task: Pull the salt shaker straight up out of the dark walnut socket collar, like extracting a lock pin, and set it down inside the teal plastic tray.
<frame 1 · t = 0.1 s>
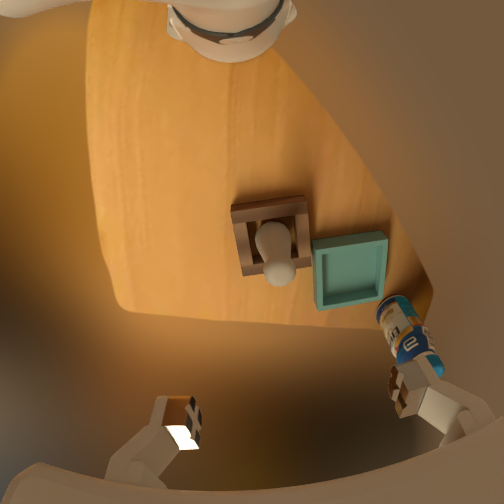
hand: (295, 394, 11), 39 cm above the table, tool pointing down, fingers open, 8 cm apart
beverage bottle: (391, 308, 60), on the table
socket collar: (271, 232, 51), on the table
salt shaker: (271, 231, 51), resting in socket collar
tray: (346, 266, 54), on the table
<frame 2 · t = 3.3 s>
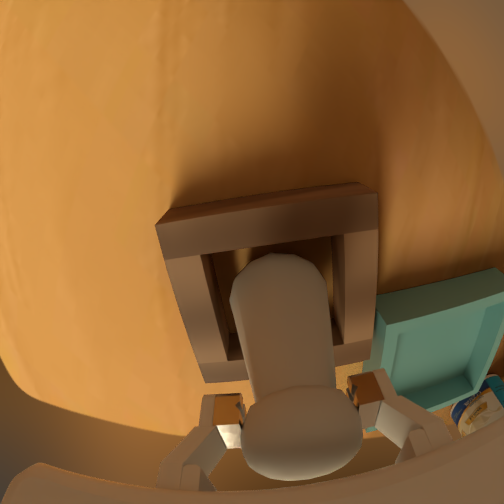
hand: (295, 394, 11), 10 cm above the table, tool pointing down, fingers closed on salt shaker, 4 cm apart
beverage bottle: (473, 393, 28), on the table
socket collar: (276, 280, 20), on the table
salt shaker: (275, 279, 20), resting in socket collar, touching gripper
tray: (428, 343, 23), on the table
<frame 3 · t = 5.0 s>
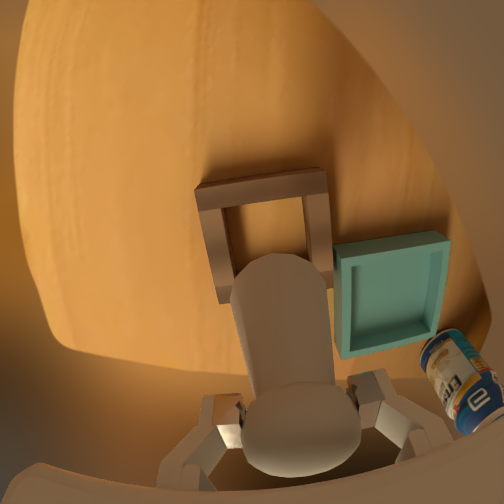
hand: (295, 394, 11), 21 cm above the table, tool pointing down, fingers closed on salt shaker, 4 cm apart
beverage bottle: (440, 347, 38), on the table
socket collar: (267, 231, 30), on the table
salt shaker: (275, 279, 20), point 11 cm above the table, touching gripper
tray: (385, 288, 33), on the table
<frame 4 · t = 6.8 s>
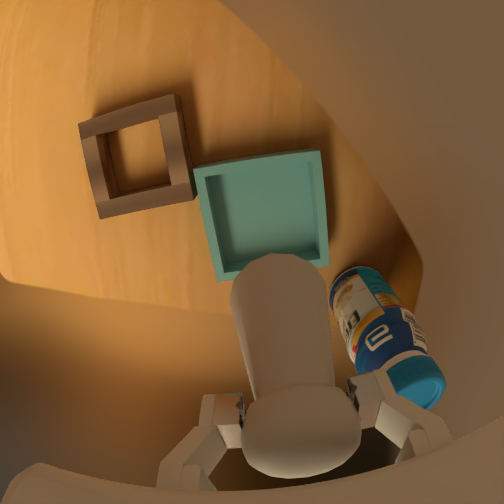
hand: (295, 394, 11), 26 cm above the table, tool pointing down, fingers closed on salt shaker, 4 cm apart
beverage bottle: (355, 290, 40), on the table
socket collar: (140, 156, 32), on the table
salt shaker: (275, 279, 20), point 16 cm above the table, touching gripper
tray: (264, 210, 35), on the table
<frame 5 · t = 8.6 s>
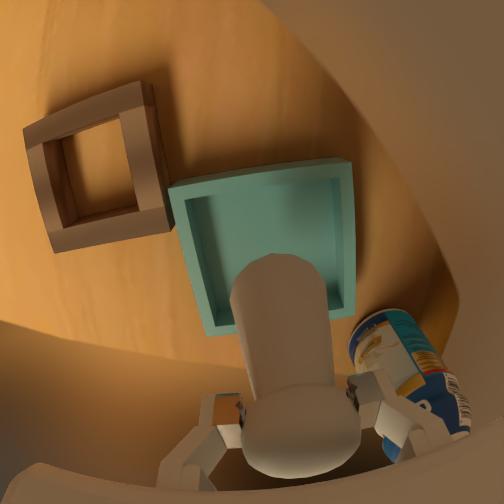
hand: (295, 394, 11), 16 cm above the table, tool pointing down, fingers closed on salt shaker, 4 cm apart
beverage bottle: (380, 335, 31), on the table
socket collar: (102, 168, 23), on the table
salt shaker: (275, 279, 20), point 6 cm above the table, touching gripper
tray: (269, 241, 26), on the table
when the fingers open (12 cm above the table, at t = 10.3 s): salt shaker drops 1 cm, resting on tray.
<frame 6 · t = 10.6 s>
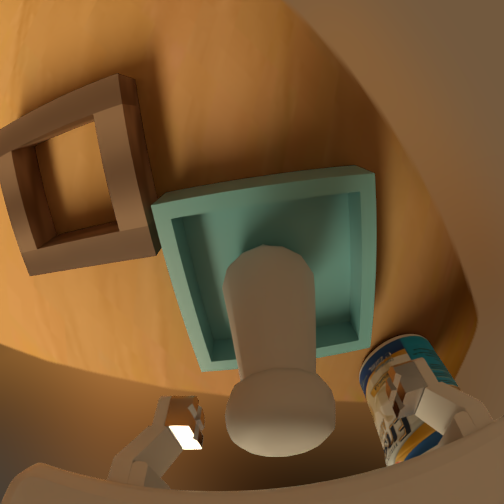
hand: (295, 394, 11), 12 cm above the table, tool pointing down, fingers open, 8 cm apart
beverage bottle: (393, 361, 27), on the table
socket collar: (79, 178, 19), on the table
salt shaker: (267, 269, 21), point 1 cm above the table, touching tray
tray: (273, 264, 22), on the table
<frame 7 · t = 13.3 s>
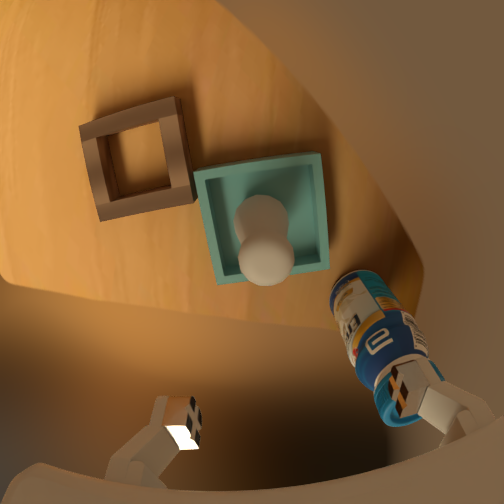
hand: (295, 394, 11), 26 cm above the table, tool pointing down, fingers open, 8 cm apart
beverage bottle: (356, 294, 40), on the table
socket collar: (141, 158, 32), on the table
salt shaker: (260, 215, 34), point 1 cm above the table, touching tray
tray: (264, 213, 35), on the table
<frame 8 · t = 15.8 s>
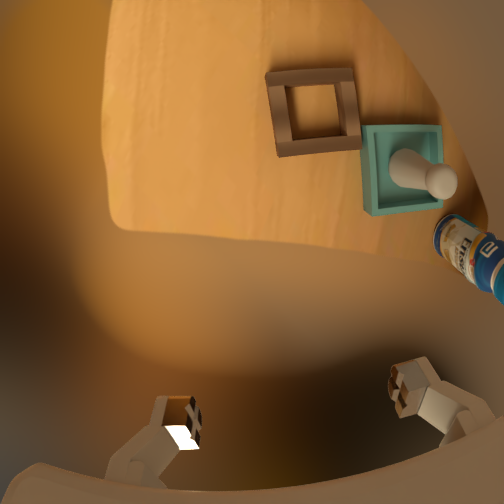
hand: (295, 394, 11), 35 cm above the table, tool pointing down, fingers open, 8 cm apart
beverage bottle: (448, 234, 46), on the table
socket collar: (312, 111, 38), on the table
salt shaker: (398, 165, 41), point 1 cm above the table, touching tray
tray: (398, 165, 41), on the table
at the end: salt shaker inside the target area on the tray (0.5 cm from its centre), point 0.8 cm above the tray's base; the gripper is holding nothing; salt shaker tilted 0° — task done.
